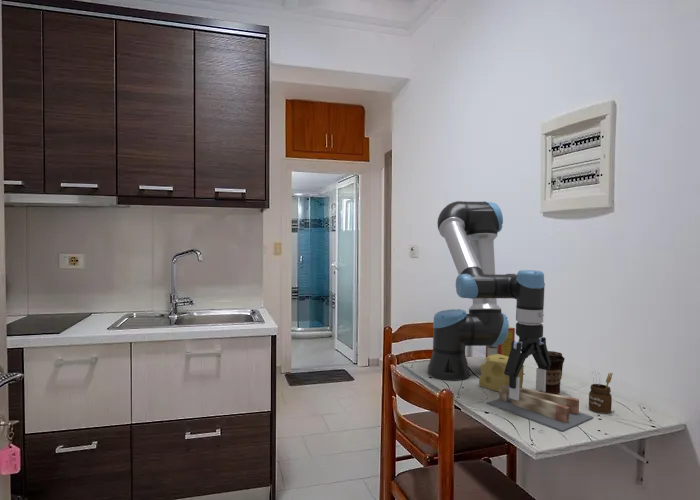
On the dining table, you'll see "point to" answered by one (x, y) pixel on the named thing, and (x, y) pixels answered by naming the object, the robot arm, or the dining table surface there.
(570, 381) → the dining table surface
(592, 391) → the utensil holder
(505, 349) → the baking soda box
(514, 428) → the dining table surface
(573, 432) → the dining table surface
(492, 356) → the cheese
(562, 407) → the arm
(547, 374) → the coffee cup
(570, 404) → the tongs swing arm
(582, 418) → the mat
